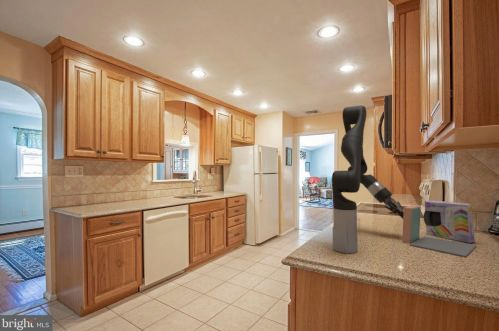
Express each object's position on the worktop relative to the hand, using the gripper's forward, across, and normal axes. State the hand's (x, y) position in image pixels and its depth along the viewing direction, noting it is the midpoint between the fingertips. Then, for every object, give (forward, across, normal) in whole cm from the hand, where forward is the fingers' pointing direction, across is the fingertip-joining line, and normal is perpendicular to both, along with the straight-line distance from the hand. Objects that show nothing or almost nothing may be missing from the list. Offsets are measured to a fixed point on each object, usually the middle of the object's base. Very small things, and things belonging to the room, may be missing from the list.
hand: (406, 218), depth 113 cm
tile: (+8, 0, +6) cm, 10 cm away
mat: (+16, 0, -2) cm, 17 cm away
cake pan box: (+15, +18, -1) cm, 24 cm away
